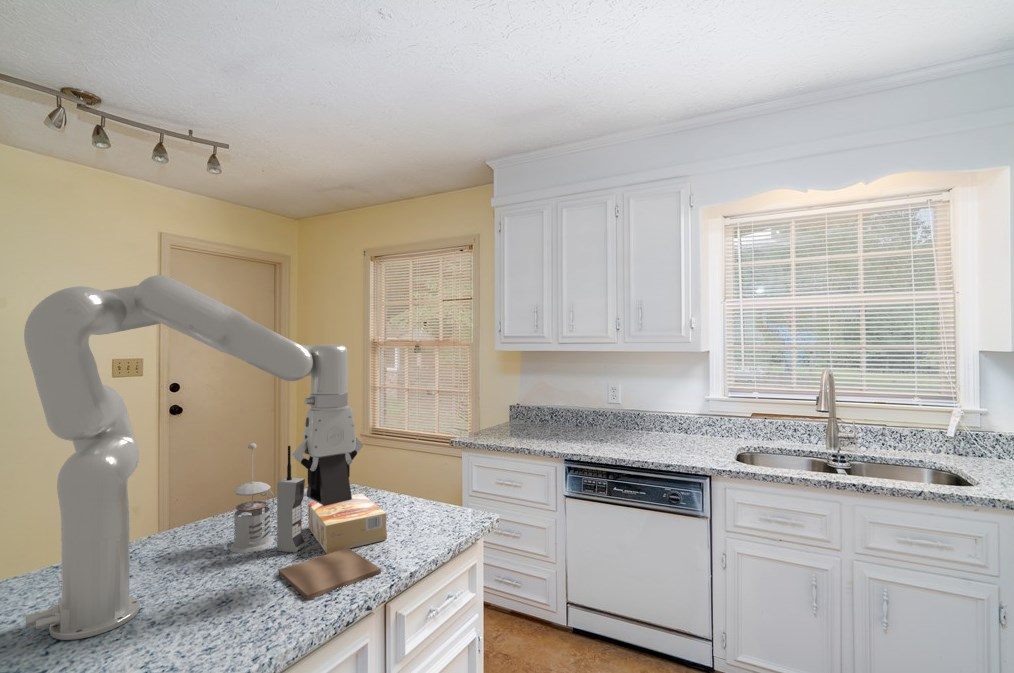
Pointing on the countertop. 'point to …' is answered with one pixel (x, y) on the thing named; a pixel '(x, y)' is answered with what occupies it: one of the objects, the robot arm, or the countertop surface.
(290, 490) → the vintage mobile phone
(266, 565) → the countertop surface
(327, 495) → the phone stand
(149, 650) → the countertop surface
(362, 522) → the coffeecake box
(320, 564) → the walnut board
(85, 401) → the robot arm
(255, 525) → the french press
